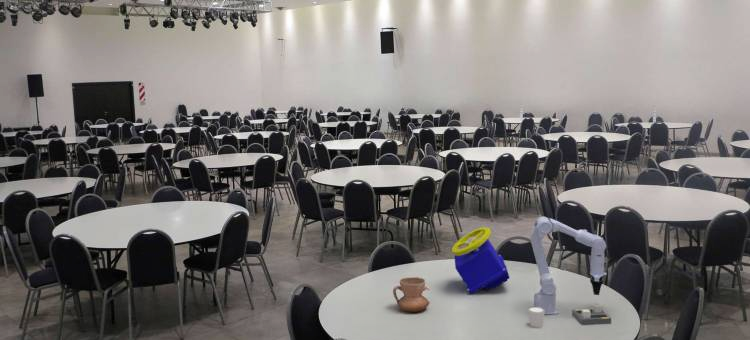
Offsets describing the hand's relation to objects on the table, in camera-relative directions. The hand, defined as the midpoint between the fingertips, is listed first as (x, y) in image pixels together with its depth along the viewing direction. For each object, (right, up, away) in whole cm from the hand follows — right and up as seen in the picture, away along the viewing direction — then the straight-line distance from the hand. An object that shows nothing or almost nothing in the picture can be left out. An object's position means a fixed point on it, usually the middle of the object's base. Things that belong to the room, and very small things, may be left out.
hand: (596, 291), depth 280 cm
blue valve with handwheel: (-47, -6, +37) cm, 60 cm away
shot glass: (-30, -13, -11) cm, 34 cm away
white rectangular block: (-8, -10, -9) cm, 16 cm away
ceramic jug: (-84, -11, +13) cm, 85 cm away
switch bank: (-5, -11, -6) cm, 13 cm away
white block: (-1, -9, -3) cm, 10 cm away
